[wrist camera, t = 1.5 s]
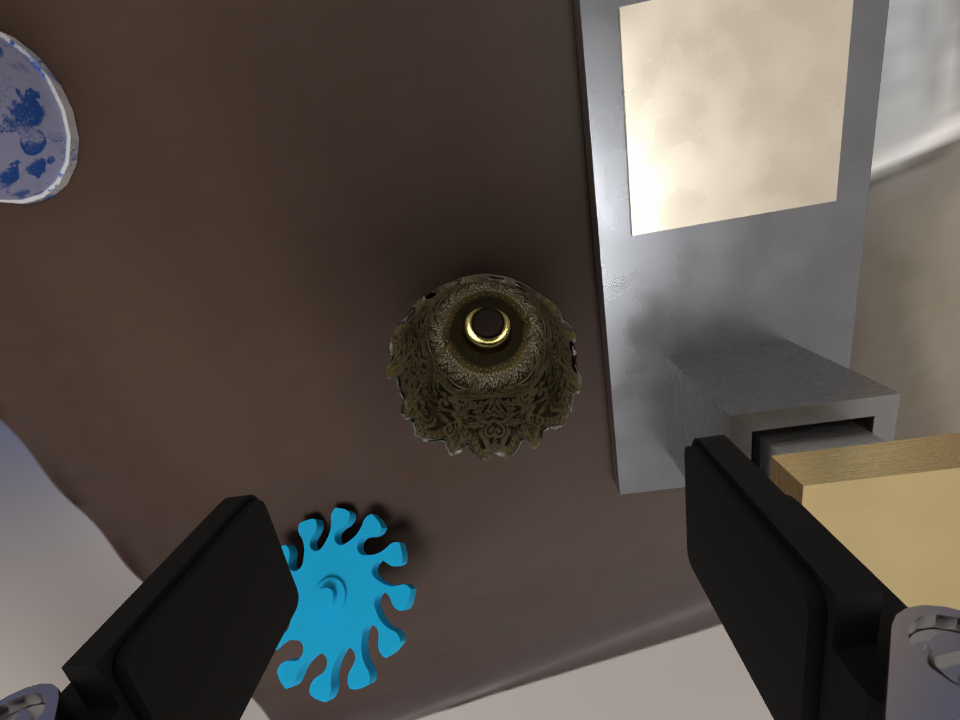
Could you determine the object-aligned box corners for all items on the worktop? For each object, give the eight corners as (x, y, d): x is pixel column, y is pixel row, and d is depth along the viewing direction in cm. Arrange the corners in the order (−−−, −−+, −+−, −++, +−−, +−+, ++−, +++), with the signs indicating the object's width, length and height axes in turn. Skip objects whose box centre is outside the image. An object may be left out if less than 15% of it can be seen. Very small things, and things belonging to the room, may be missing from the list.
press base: (569, -39, 19) (617, -202, 11) (871, -108, 18) (1150, -341, 10) (613, 479, 27) (658, 585, 20) (820, 454, 26) (951, 556, 18)
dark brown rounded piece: (406, 266, 23) (362, 297, 16) (546, 241, 23) (570, 260, 15) (436, 394, 26) (410, 474, 18) (563, 375, 25) (591, 449, 17)
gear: (411, 503, 26) (399, 711, 22) (443, 513, 32) (439, 683, 27) (253, 509, 29) (216, 697, 25) (307, 517, 34) (284, 674, 30)
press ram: (685, 376, 19) (803, 485, 12) (854, 352, 19) (1092, 452, 11) (688, 507, 22) (789, 669, 14) (839, 489, 21) (1029, 649, 14)
